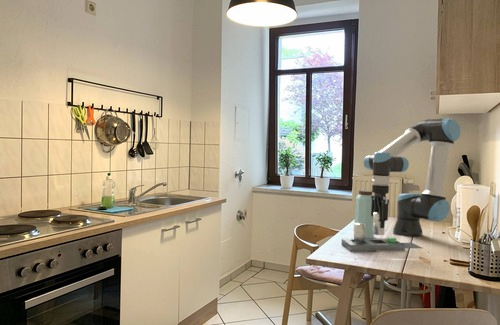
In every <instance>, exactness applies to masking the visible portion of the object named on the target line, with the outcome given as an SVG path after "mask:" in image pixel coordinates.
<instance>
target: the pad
mask: <svg viewBox="0 0 500 325" xmlns="http://www.w3.org/2000/svg"><path fill="white" fill-rule="evenodd" d="M401 243H402V244H404V245H405V249H423V247H421V246H420V245H418V244H416V243H413V242H401Z"/></svg>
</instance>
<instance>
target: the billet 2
mask: <svg viewBox="0 0 500 325" xmlns="http://www.w3.org/2000/svg"><path fill="white" fill-rule="evenodd" d="M378 220H380V218H379V212H374V215H373V234H374V235H376V236H379V235H378V222H379V221H378Z"/></svg>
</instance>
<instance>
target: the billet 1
mask: <svg viewBox="0 0 500 325" xmlns="http://www.w3.org/2000/svg"><path fill="white" fill-rule="evenodd" d="M353 238H354V241H353V242H354V243H355V244H364V242H365V224H363V223H355V222H354V224H353Z"/></svg>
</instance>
